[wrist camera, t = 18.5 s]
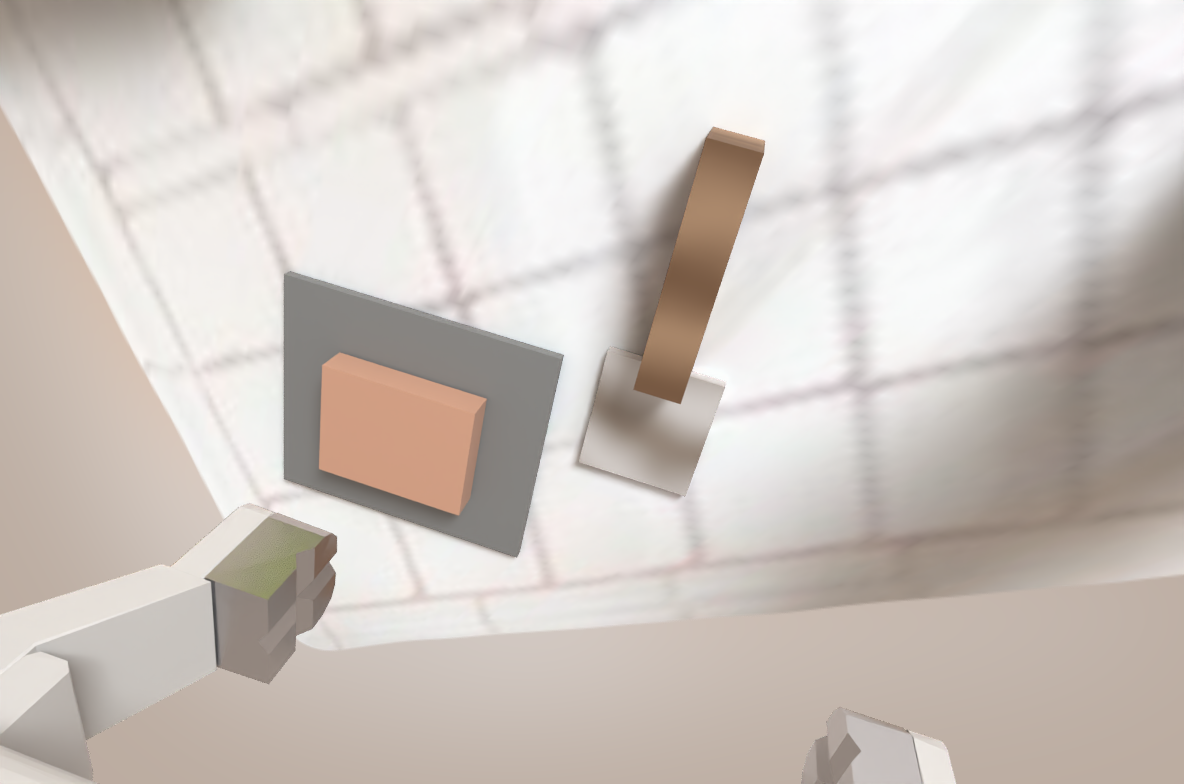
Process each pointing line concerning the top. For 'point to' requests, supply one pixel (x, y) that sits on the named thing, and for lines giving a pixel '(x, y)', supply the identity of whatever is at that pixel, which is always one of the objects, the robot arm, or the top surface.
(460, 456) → the tile
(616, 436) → the turner
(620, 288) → the top surface
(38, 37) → the top surface
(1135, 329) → the top surface
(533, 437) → the mat
